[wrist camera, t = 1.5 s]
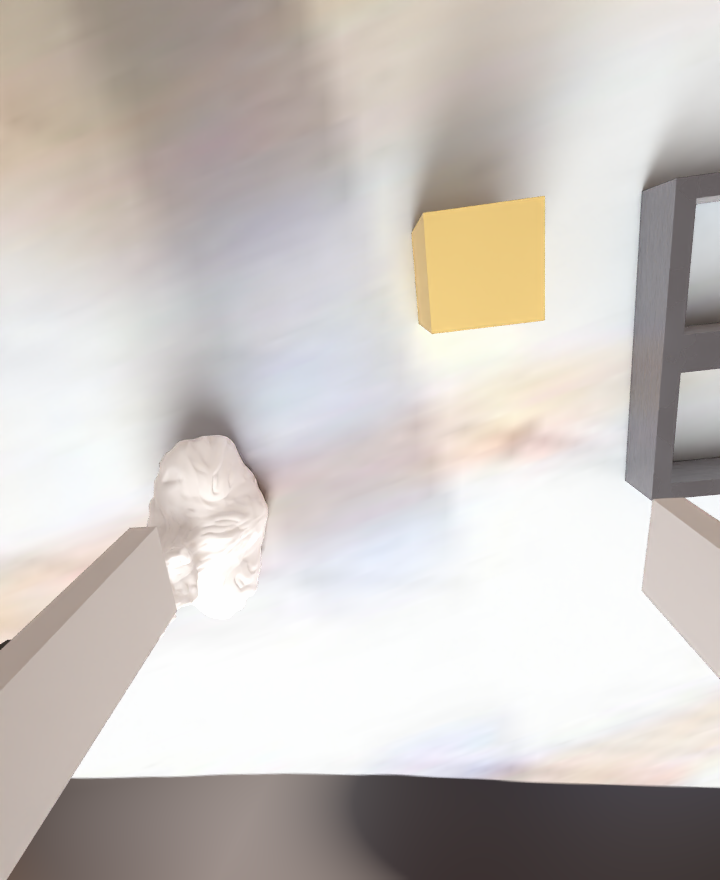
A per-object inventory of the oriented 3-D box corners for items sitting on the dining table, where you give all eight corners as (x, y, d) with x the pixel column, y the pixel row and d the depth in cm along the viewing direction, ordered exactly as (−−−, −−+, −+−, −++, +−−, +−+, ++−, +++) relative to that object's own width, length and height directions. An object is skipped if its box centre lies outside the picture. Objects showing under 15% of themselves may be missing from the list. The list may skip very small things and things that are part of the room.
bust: (211, 413, 32) (24, 471, 24) (282, 421, 27) (77, 498, 19) (245, 562, 35) (93, 656, 28) (314, 593, 31) (153, 718, 23)
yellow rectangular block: (411, 233, 26) (422, 212, 19) (501, 220, 26) (544, 195, 19) (418, 323, 27) (431, 334, 21) (503, 313, 27) (544, 320, 20)
